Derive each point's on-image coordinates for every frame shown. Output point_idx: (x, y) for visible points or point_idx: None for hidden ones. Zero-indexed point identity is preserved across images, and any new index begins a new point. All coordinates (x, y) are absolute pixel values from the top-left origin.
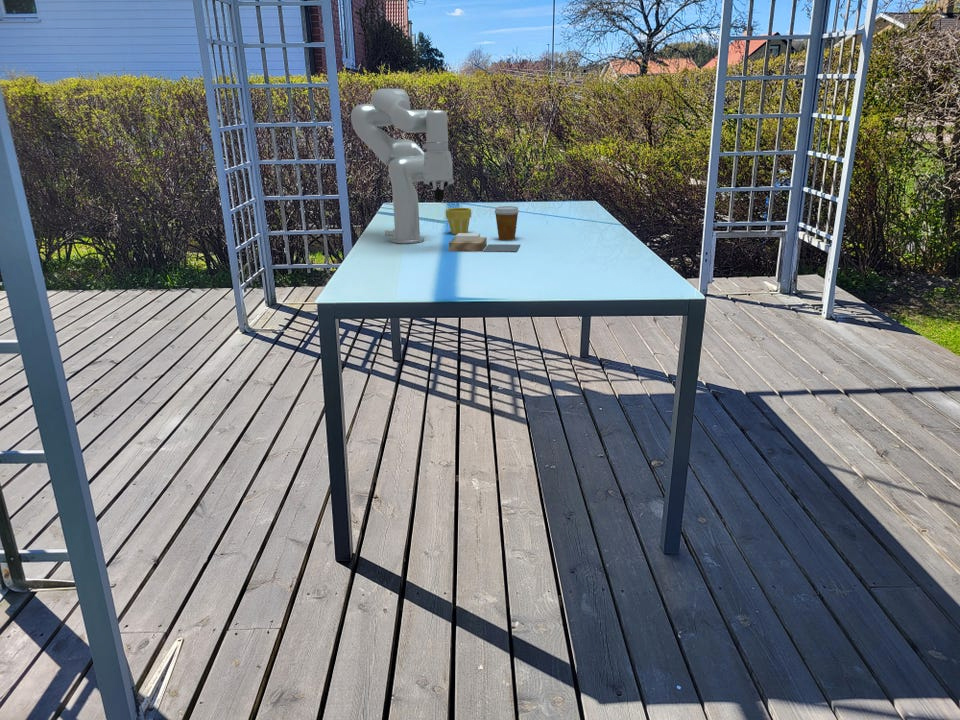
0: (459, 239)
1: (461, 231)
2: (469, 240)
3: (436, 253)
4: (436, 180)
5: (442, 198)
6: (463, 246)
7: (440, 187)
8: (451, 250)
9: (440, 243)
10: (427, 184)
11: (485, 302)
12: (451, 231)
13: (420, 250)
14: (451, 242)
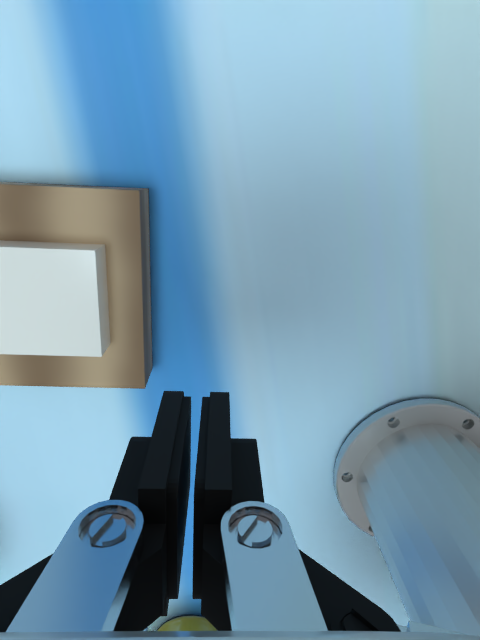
0: (75, 245)
1: (173, 628)
2: (10, 241)
3: (212, 119)
4: (185, 637)
5: (147, 438)
6: (48, 185)
7: (132, 535)
8: (132, 188)
9: (238, 415)
10: (436, 629)
11: None
12: None
13: (321, 218)
14: (124, 207)
